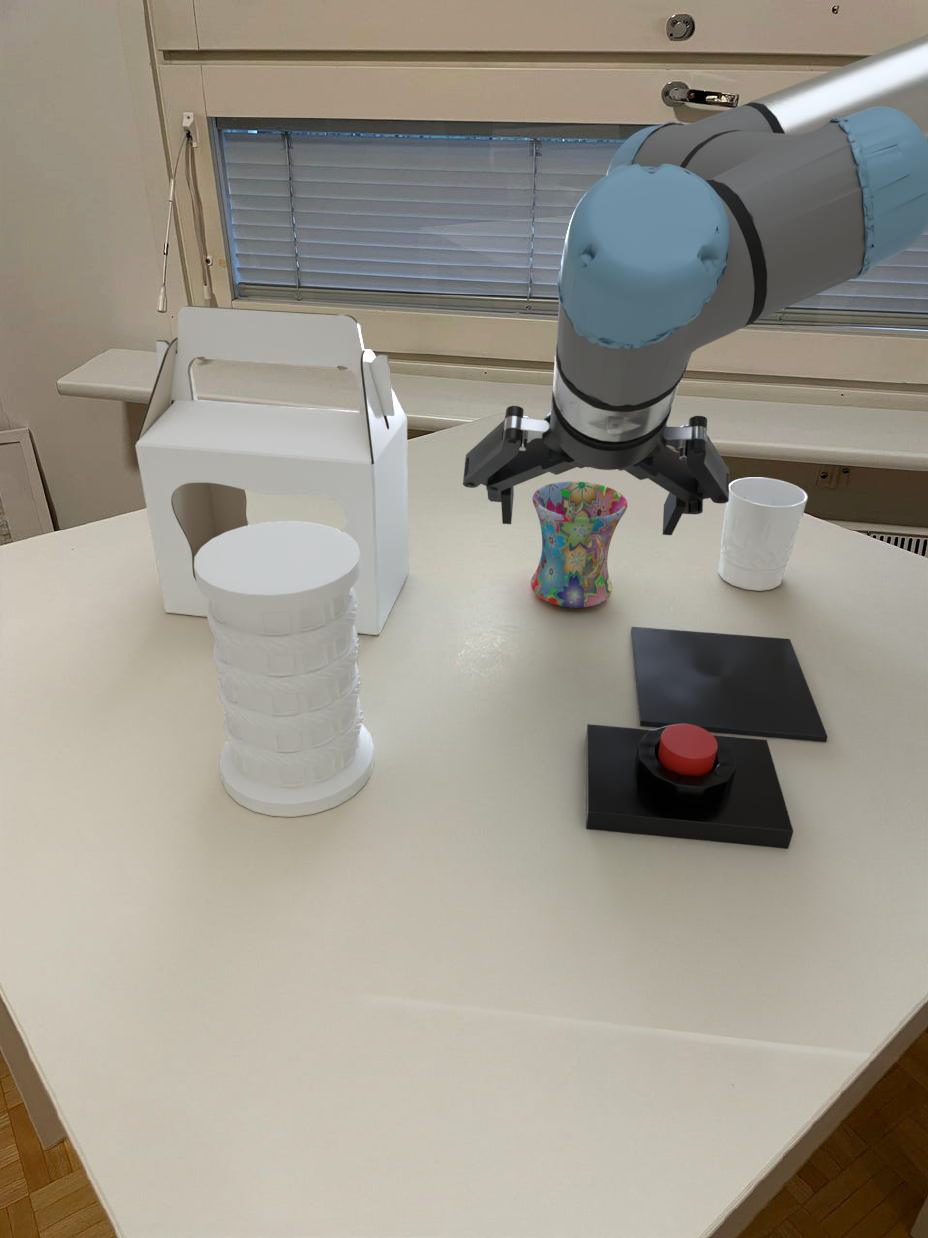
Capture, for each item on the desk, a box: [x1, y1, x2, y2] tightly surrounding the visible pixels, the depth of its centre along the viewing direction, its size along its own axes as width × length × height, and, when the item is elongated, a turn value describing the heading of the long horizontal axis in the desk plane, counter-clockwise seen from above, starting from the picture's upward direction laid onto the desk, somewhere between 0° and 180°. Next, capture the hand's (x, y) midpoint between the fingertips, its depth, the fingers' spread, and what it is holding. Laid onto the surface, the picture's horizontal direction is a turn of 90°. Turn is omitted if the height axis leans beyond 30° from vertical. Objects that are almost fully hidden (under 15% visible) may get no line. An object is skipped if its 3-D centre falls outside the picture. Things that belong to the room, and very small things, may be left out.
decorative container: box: [194, 520, 375, 818], centre depth 62 cm, size 12×12×18 cm
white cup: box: [717, 476, 809, 592], centre depth 93 cm, size 8×8×10 cm
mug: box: [530, 481, 628, 609], centre depth 87 cm, size 12×9×11 cm
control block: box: [584, 723, 794, 850], centre depth 64 cm, size 14×10×4 cm
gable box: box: [134, 305, 410, 636], centre depth 83 cm, size 22×13×28 cm, turn 81°
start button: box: [658, 724, 718, 776], centre depth 63 cm, size 4×4×2 cm
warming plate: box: [630, 626, 829, 743], centre depth 78 cm, size 15×15×1 cm
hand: (587, 514), depth 75 cm, fingers open, 13 cm apart
